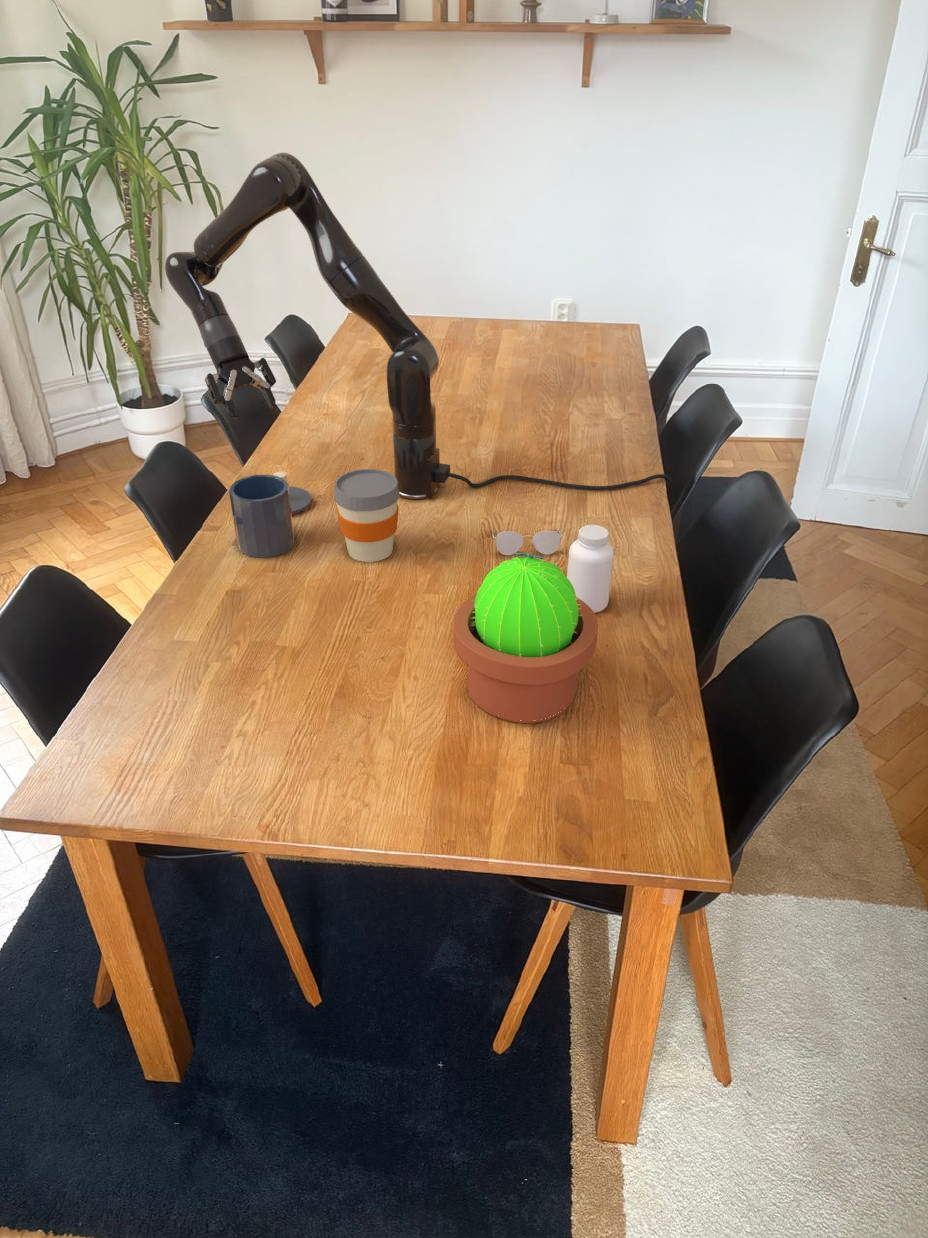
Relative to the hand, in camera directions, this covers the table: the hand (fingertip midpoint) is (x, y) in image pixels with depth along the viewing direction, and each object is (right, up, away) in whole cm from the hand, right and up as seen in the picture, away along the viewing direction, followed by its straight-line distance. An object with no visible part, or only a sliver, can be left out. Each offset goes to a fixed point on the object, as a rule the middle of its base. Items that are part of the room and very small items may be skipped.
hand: (254, 412), depth 203 cm
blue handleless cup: (+5, -29, -12) cm, 32 cm away
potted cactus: (+54, -56, -49) cm, 92 cm away
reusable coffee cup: (+26, -31, -14) cm, 43 cm away
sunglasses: (+57, -29, -12) cm, 66 cm away
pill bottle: (+68, -41, -29) cm, 84 cm away
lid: (+6, -19, +1) cm, 20 cm away
